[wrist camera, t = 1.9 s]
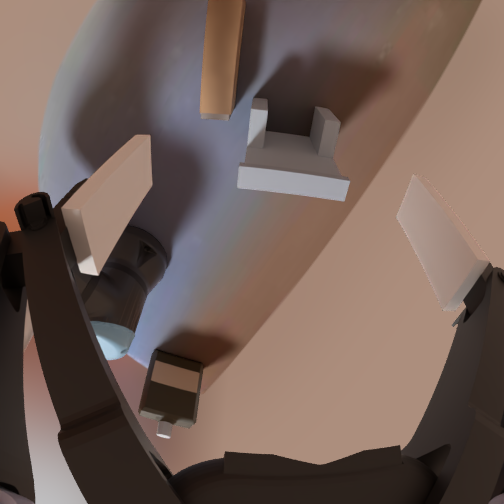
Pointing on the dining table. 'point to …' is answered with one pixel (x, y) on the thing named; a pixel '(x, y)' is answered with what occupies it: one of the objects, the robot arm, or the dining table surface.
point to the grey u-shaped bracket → (293, 157)
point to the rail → (221, 58)
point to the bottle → (171, 392)
